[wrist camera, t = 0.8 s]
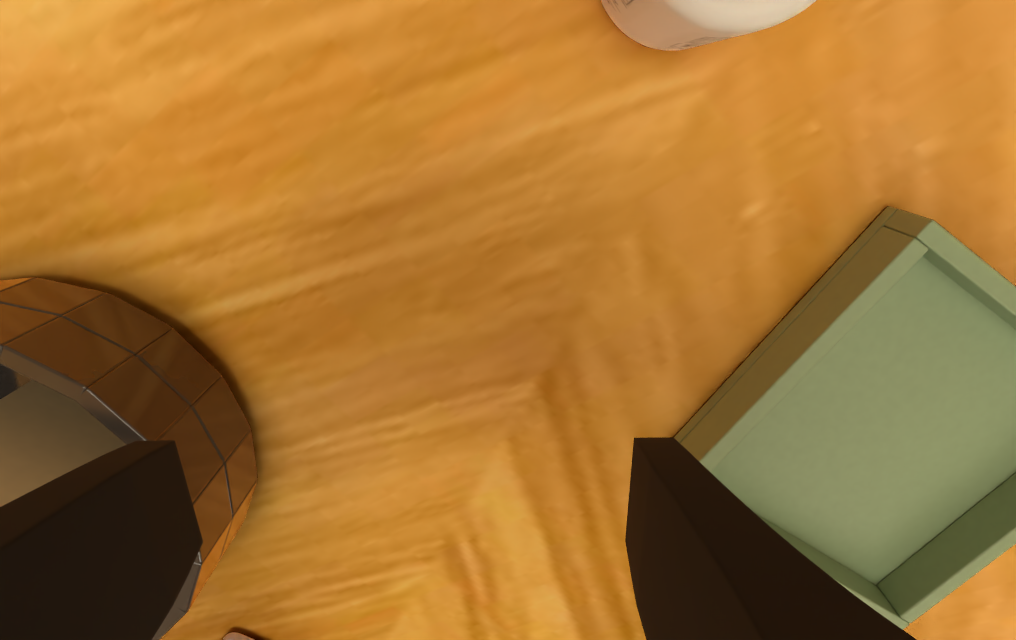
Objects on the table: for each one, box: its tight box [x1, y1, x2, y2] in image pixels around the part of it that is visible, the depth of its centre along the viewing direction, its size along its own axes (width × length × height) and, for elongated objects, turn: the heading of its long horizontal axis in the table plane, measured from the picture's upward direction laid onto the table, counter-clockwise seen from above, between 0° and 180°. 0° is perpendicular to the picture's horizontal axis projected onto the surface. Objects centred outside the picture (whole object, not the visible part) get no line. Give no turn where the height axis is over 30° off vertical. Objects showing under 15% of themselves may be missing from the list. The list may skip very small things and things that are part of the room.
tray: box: [674, 206, 1016, 630], centre depth 19 cm, size 11×11×2 cm
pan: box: [0, 277, 257, 640], centre depth 18 cm, size 12×12×4 cm
